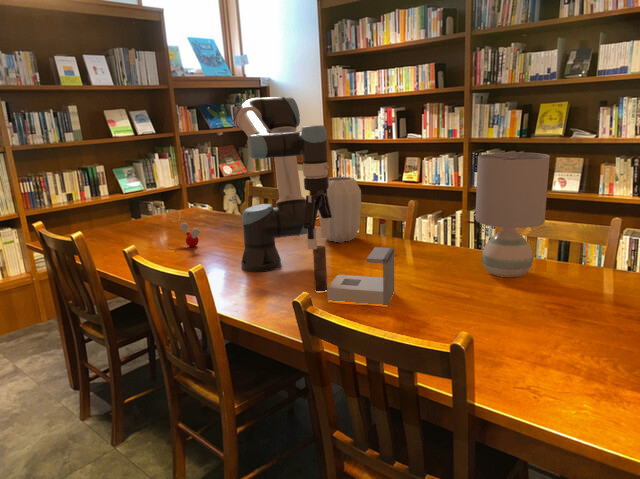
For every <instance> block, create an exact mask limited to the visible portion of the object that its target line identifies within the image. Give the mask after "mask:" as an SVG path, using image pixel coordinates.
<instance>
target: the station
mask: <svg viewBox="0 0 640 479" xmlns="http://www.w3.org/2000/svg"><path fill="white" fill-rule="evenodd" d="M366 263H367V264H368V263H371V264H382V277H379V276H377V277H376V276H365V275H348V274H337V275H336V276H335V277H334V279H333V280H332V281H331V282H330V284H329V285H327V292H326V293H327V294H326V295H327V301H328V300H332V301H345V302H356V303H368V304H382V305H388V303H389V301H390V299H391V297H392V295H393V292H394V293H395V248H394V247H378V246H375V247H374V248H373V249H372V250H371V252H370V253H369V255H368V256H367V257H366ZM393 296H394V295H393ZM392 298H393V297H392ZM391 300H392V299H391ZM390 302H391V301H390ZM389 304H390V303H389Z"/></svg>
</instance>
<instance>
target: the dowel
mask: <svg viewBox="0 0 640 479" xmlns="http://www.w3.org/2000/svg"><path fill="white" fill-rule="evenodd" d="M312 253H313V254H312V255H313V273H314V291H315V290H316V291H325V290H327V287H328V277H327V276H328V275H327V254H326V246H325V245H317V249H312Z"/></svg>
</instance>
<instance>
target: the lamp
mask: <svg viewBox="0 0 640 479" xmlns="http://www.w3.org/2000/svg"><path fill="white" fill-rule="evenodd" d="M550 157H551V155H549V154H545V153H539V152H537V153H536V152H491V153H484V154H480V155H478V156H477V166H476V167H477V169H476V194H475V195H476V198H475V216H474V217H475V221H476V222H477V223H480V224H482V225H485V226H489V227H490V226H491V227H496V228H501V230H499V231H497V233H495V234H494V235H492V236H491V237H490V238H489V240H488V241H486V243H485V245H484V247H483V250H482V253H481V261H482V265H483V267H484V269H485V270H486V271H487V272H488V273H489V274H491V275H492V274H494V275H493V276H495V275H497V276H496V277H498V276H503V277H516V278H518V277H517V276H520V277H522V276H524V275H526V274H527V273H528V272H530V270H531V268H532V266H533V262H534V254H533V250H532V248H531V246H530V244H529V242H528V241H527V239H526V238H525V237H523V235H522V234H520V233H519V231H516V229H520V228H521V229H523V228H535V227H538V226H541V225H544V223H545V222H546V208H547V194H548V183H549V170H550Z"/></svg>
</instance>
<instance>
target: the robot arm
mask: <svg viewBox="0 0 640 479" xmlns="http://www.w3.org/2000/svg"><path fill="white" fill-rule="evenodd" d="M234 119H235V120H234V121H235V123H236V125H237V127H238V128H239V129H240V131H241V130H242V131H243V132H244V134H245V135H246V136H247V151H248V155H249V157H250V158H251V159H254V160H255V159H259V160H263V159H273V158H274V166H275V175H276V182H277V183H276V184H277V190H278V198H279V199H278V200H277V201H276V202H275V203H276V205H275V207H273V204H271V203H260V204H256V205H253V206H249V207H247V208H245V209H244V210H243V211H242V213H241V218H242V220H241V224H242V231H243V232H242V233H243V242H244V243H243V245H244V249H243V254H242V258H241V262H240V263H241V269H242V270H244V271H247V272H250V273H251V272H253V273H254V272H255V273H256V272H257V273H258V272H259V273H260V272H261V273H262V272H268V271H273V270H276V269H278V268H280V267H281V266H282V261H281V260H282V259H281V256H280V253H279V252H278V251H279V250H278V249H277V246H276V239H277V238H287V237H295V236H296V237H299V236H303V235H306V240H307V249H308V250H313V249H317V246H318V239H317V228H316V224H317V223H316V222H317V216H318V213H319V212H320V214H321V217H322V218H321V226H320V233H321V234H320V237H321V239H326V238H330V229H329V218H331V217H332V215H331V210H330V206H329V201H328V196H327V189H328V187H329V185H328V178H329V177H328V174H329V173H328V172H329V169H330V165H328V144H327V143H328V142H327V139H328V136H327V130H326V127H325V126H324V125H322V124H320V125H318V124H316V125H305V126H302V127H301V130H300V131H297V128H298V127H299V126H300V123H301V117H300V109H299V107H298V103H297V101H296V100H295V99H294V98H293V97H292V96H282V95H281V96H273V97H271V96H270V97H252V98H249V99H247V100H245V101H243V102H242V103H241V104H240V105H239V106H238V107H237V109H236V111H235V115H234ZM297 156H298V157H299V156H301V157H302V162H303V163H302V166H303V167H302V169H303V176H304V179H303V184H304V186H303V187H304V190H305V191H309V195H306V196H305V197H304V196H302V191H301V190H302V189H301V182H300V181H301V180H300V176H299V169H298V168H299V167H298V160H297V159H298V158H297Z"/></svg>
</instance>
